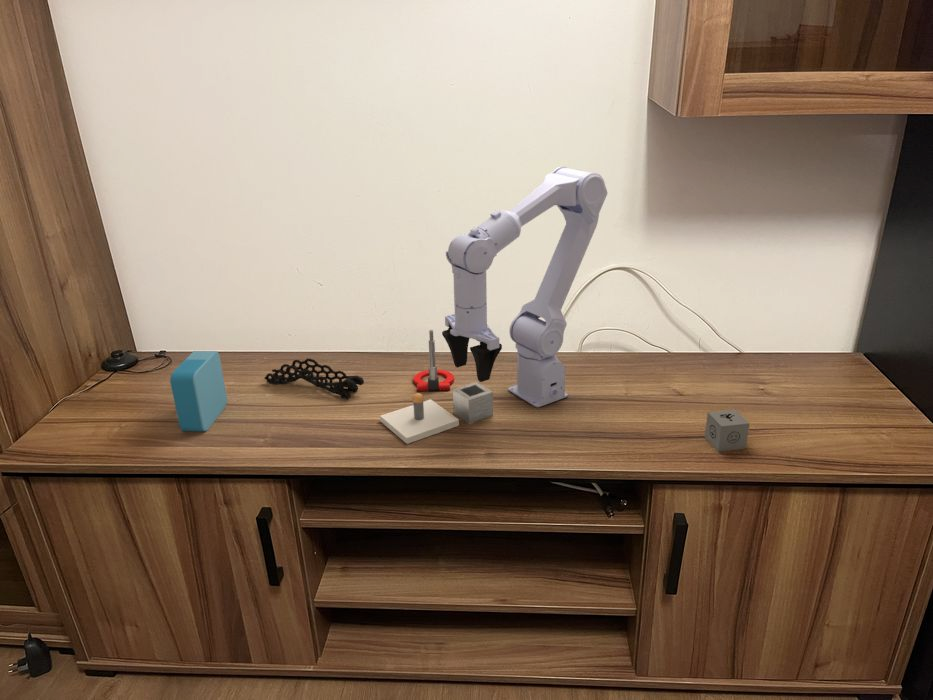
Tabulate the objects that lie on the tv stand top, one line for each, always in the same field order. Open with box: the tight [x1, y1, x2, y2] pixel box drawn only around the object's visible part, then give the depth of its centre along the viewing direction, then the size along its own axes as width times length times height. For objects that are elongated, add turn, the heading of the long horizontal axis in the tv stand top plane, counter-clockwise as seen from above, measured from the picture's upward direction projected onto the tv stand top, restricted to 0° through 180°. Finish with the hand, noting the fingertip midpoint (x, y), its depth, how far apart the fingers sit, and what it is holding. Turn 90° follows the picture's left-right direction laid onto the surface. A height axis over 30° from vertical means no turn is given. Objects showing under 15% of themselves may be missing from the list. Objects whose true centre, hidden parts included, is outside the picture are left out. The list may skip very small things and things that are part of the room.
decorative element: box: [263, 357, 365, 400], centre depth 146 cm, size 22×5×6 cm, turn 69°
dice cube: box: [704, 408, 751, 453], centre depth 123 cm, size 5×5×5 cm
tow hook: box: [413, 329, 455, 392], centre depth 147 cm, size 8×13×9 cm
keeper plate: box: [379, 392, 460, 445], centre depth 132 cm, size 10×11×6 cm
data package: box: [169, 350, 228, 432], centre depth 135 cm, size 12×4×12 cm, turn 177°
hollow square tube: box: [452, 381, 494, 425], centre depth 135 cm, size 5×5×5 cm
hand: (472, 372), depth 132 cm, fingers open, 7 cm apart
